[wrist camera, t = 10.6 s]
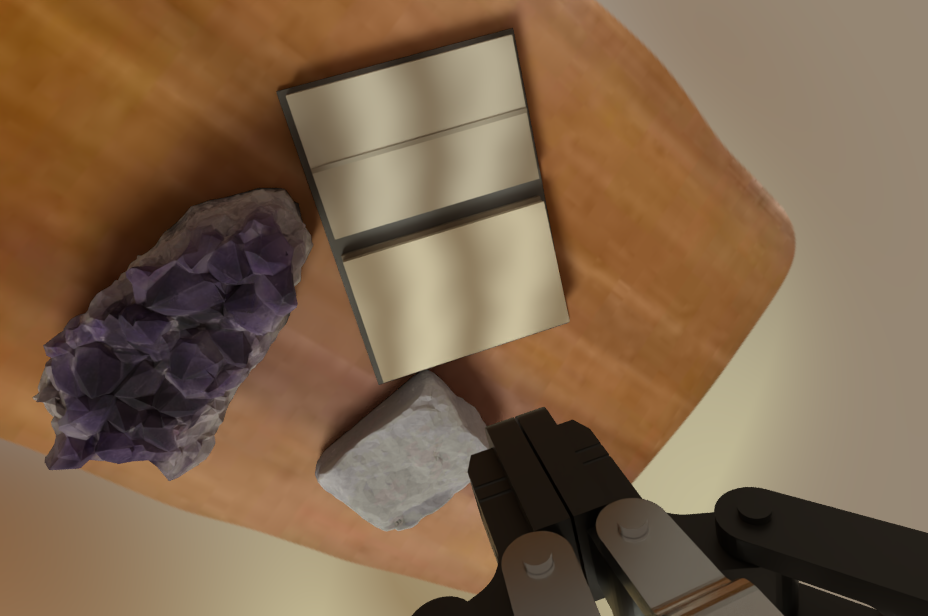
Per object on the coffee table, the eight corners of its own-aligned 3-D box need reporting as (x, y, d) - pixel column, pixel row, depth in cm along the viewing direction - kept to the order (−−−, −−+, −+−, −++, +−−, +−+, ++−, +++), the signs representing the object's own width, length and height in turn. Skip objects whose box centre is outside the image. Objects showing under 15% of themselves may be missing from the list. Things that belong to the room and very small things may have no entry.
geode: (187, 120, 37) (179, 152, 28) (345, 225, 43) (378, 277, 34) (11, 384, 39) (-44, 485, 31) (184, 448, 45) (177, 548, 37)
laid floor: (378, 382, 46) (380, 393, 44) (276, 91, 37) (275, 92, 36) (566, 321, 47) (574, 329, 46) (511, 28, 39) (519, 27, 37)
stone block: (494, 418, 52) (421, 354, 46) (516, 459, 48) (440, 395, 42) (387, 503, 53) (303, 452, 47) (400, 550, 49) (310, 500, 43)
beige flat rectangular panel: (382, 375, 44) (383, 382, 43) (341, 254, 41) (341, 258, 40) (563, 316, 46) (569, 321, 45) (537, 195, 43) (543, 197, 42)
